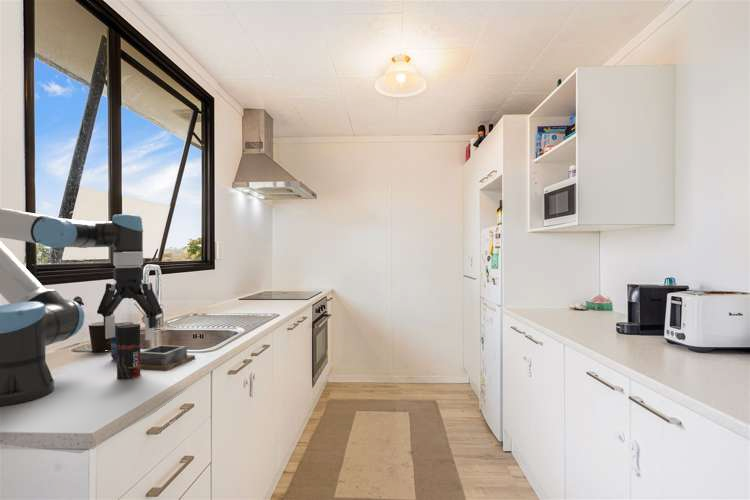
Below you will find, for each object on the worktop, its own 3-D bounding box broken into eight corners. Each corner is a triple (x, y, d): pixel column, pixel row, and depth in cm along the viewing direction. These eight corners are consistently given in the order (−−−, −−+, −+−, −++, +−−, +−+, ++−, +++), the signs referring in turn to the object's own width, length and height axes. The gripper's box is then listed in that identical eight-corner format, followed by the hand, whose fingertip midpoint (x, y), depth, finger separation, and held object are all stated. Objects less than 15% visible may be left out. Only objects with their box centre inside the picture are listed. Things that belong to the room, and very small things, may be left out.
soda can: (106, 360, 135) (106, 325, 135) (124, 355, 142) (124, 321, 142) (121, 362, 133) (121, 326, 133) (139, 356, 140) (139, 322, 139)
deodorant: (132, 379, 115) (132, 327, 115) (112, 379, 115) (111, 327, 115) (144, 373, 121) (144, 323, 121) (125, 373, 121) (125, 323, 121)
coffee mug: (102, 353, 144) (102, 326, 144) (82, 352, 146) (82, 325, 146) (128, 345, 155) (128, 320, 155) (109, 344, 157) (109, 319, 157)
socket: (166, 370, 124) (166, 356, 124) (127, 367, 127) (127, 353, 127) (194, 358, 138) (194, 345, 138) (159, 356, 140) (159, 343, 140)
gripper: (174, 265, 119) (175, 336, 120) (103, 266, 124) (105, 334, 124) (156, 267, 112) (157, 342, 112) (81, 267, 117) (83, 339, 117)
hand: (129, 338), depth 118 cm, fingers open, 13 cm apart
